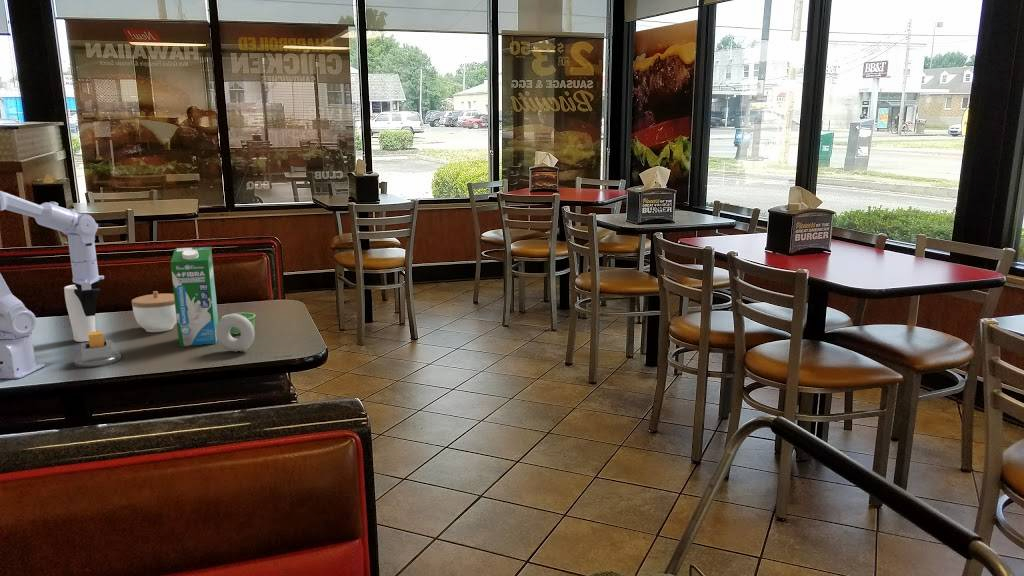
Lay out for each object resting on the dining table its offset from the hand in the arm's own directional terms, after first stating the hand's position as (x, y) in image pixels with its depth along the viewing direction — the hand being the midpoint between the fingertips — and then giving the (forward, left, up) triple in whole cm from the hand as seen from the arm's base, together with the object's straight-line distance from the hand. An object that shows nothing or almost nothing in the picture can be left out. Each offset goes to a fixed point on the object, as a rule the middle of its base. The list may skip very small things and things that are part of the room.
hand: (90, 312), depth 190 cm
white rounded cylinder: (+9, +8, -10) cm, 16 cm away
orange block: (-10, -7, -9) cm, 15 cm away
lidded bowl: (+20, -7, -10) cm, 23 cm away
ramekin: (+18, -31, -10) cm, 37 cm away
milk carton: (+8, -24, -10) cm, 27 cm away
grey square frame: (-10, -7, -10) cm, 15 cm away
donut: (-2, -38, -10) cm, 39 cm away
